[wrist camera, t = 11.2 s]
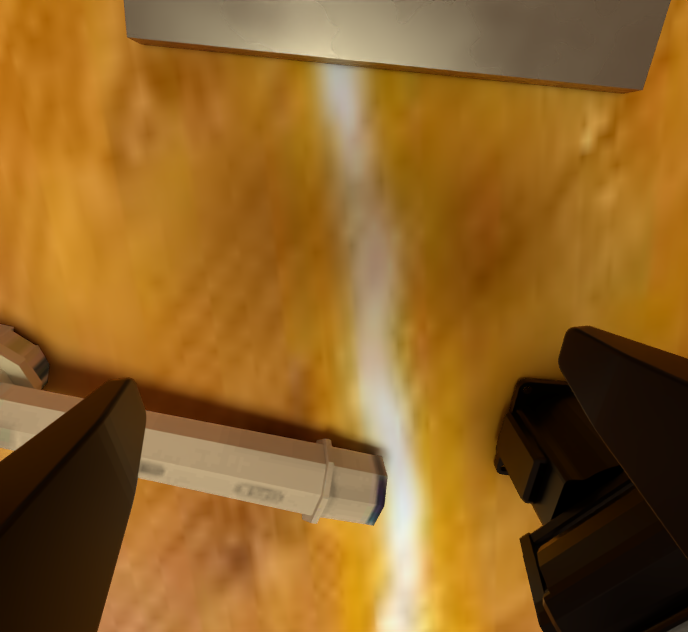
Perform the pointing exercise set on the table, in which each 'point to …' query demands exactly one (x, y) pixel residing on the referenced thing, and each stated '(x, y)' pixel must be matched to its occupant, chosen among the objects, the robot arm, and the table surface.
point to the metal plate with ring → (425, 35)
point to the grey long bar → (206, 450)
